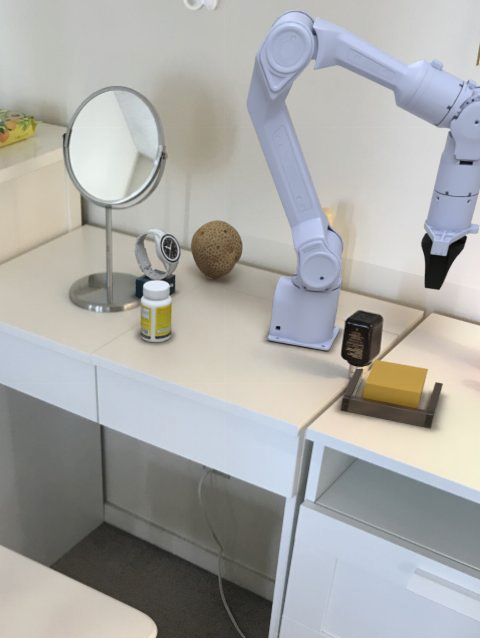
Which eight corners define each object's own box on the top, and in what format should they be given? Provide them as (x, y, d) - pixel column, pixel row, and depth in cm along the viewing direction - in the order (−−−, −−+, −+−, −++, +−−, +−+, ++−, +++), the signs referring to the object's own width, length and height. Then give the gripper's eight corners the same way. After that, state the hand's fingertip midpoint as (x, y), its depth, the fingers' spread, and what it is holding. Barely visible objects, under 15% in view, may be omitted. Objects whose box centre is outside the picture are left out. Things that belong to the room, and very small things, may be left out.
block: (359, 408, 110) (365, 382, 107) (369, 385, 115) (375, 359, 112) (414, 419, 107) (420, 393, 105) (421, 394, 112) (428, 368, 110)
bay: (340, 410, 109) (342, 397, 108) (354, 379, 116) (356, 367, 115) (430, 428, 105) (434, 415, 104) (439, 396, 112) (443, 383, 111)
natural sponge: (208, 263, 151) (212, 209, 145) (249, 275, 146) (255, 219, 140) (179, 279, 146) (182, 223, 140) (221, 291, 141) (226, 234, 135)
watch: (164, 305, 137) (166, 241, 130) (127, 293, 141) (127, 230, 134) (184, 295, 140) (187, 231, 133) (147, 283, 144) (148, 221, 138)
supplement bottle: (173, 331, 129) (175, 280, 124) (167, 344, 126) (169, 292, 121) (144, 328, 130) (144, 277, 125) (137, 341, 127) (137, 290, 122)
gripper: (483, 210, 103) (456, 311, 111) (492, 178, 113) (467, 273, 121) (424, 204, 105) (402, 303, 113) (439, 173, 115) (418, 266, 124)
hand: (432, 287), depth 117 cm, fingers closed
